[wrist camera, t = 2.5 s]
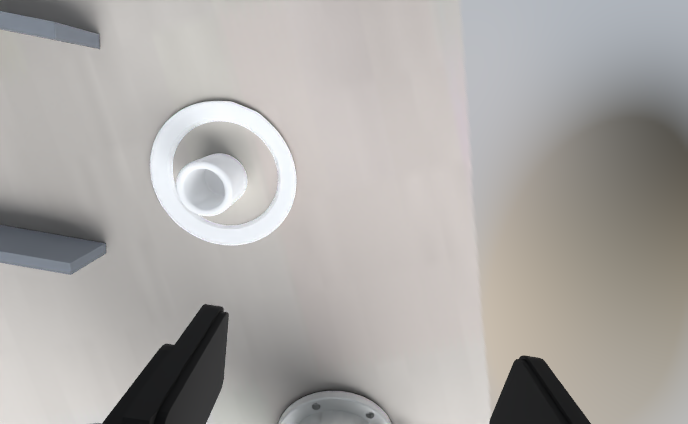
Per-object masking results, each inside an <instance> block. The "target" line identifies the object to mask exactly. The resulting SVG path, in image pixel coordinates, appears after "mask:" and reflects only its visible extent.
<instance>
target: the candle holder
mask: <svg viewBox="0 0 688 424" xmlns="http://www.w3.org/2000/svg"><path fill="white" fill-rule="evenodd" d="M213 121H226V122H232V123H235V124H238V125H241V126H243V127H245V128H247V129H249V130H251V131H252V132H253V133H255V134H256V135H257V136H258V137H259V138H261V139H262V141H263V142H264V143H265V144H266V145H267V147H268V148H269V150H270V151H271V153H272V155H273V157H274V160H275V163H276V166H277V172H278V186H277V191H276V194H275V197H274V199H273V201H272V203H271V205H270V206H269V208H268V209H267V210H266V211H265V212H264V213H263V214H262V215H261V216H259V217H258V218H256V219H254V220H252V221H250V222H248V223H244V224H240V225H222V224H217V223H214V222H211V221H209V220H206V219H205V218H203V217H201V216H199V215H202V216H214V215H217V214H220V213H222V212H223V211H225V210H226V209H227V208H228V207H230V206H231V205H232V204H233V203H234V202H235V201H237V200H238V199H239V198H240V197H241V196H242V195H243V194H244V192H245V190H246V187H247V174H246V171H245V168H244V167H243V166H242V164H241V163H240V162H239V161H238V160H237V159H235V158H234V157H232V156H230V155H227V154H223V153H217V154H212V155H209V156H206V157H203V158H201V159H198V160H195V161H193V162H190V163H188V164H187V165H185V166H184V167H183V168H182V169H181V171H180V172H179V174H178V176H177V179H176V185H175V182H174V177H173V158H174V154H175V151H176V148H177V146H178V144H179V143H180V141H181V140H182V138H183V137H184V136H185V135H186V134H187V133H188V132H189V131H191V130H192V129H193V128H195V127H197V126H199V125H201V124H204V123H208V122H213ZM150 174H151V180H152V184H153V188H154V191H155V193H156V196H157V198H158V200H159V202H160V203H161V205H162V207H163V208H164V210H165V211H166V212H167V214H168V215H169V216H170V217H171V218H172V219H173V220H174V221H175V222H176V223H177V224H178V225H179V226H180V227H181V228H183V229H184V230H185V231H187V232H188V233H190V234H192V235H193V236H195V237H197V238H200V239H202V240H204V241H207V242H211V243H215V244H220V245H243V244H248V243H251V242H254V241H257V240H259V239H262V238H263V237H265V236H267V235H268V234H270V233H271V232H273V231H274V230H275V229H276V228H277V227H278V226H279V225H280V224H281V223H282V222H283V220H284V219H285V218H286V216H287V214H288V213H289V211H290V209H291V206H292V204H293V201H294V197H295V192H296V170H295V165H294V161H293V158H292V155H291V153H290V150H289V148H288V146H287V144H286V143H285V141H284V139H283V138H282V136H281V135H280V134H279V132H278V131H277V130H276V129H275V128H274V127H273V126H272V125H271V124H270V123H269V122H268V121H267V120H266V119H265V118H264V117H263V116H262V115H261V114H259V113H258V112H256V111H254V110H251V109H249V108H247V107H244V106H242V105H239V104H237V103H235V102H232V101H207V102H201V103H197V104H193V105H191V106H188V107H186V108H184V109H182V110H180V111H179V112H177V113H176V114H174V115H173V116H172V117H171V118H170V119H169V120H168V121H167V122H166V123H165V124H164V125H163V126H162V128H161V129H160V131H159V133H158V134H157V136H156V138H155V141H154V144H153V147H152V151H151V157H150Z"/></svg>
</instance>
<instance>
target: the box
mask: <svg viewBox="0 0 688 424" xmlns="http://www.w3.org/2000/svg"><path fill="white" fill-rule="evenodd" d="M0 29H2V30H7V31H12V32H17V33H22V34H27V35H32V36H37V37H42V38H47V39H52V40H57V41H62V42H67V43H72V44H78V45H83V46H88V47H93V48H98V49H100V39H99V34H97V33H93V32H89V31H86V30H82V29H78V28H75V27H71V26H68V25H64V24H60V23H57V22H53V21H48V20H43V19H38V18H33V17H28V16H23V15H18V14H13V13H8V12H3V11H0ZM104 254H106V243H101V242H96V241H90V240H84V239H79V238H73V237H67V236H62V235H56V234H50V233H45V232H39V231H33V230H28V229H22V228H16V227H11V226H5V225H0V263H6V264H12V265H18V266H23V267H29V268H35V269H41V270H47V271H52V272H58V273H64V274H70V275H71V274H73V273H74V272H76V271H78V270H79V269H81V268H83V267H84V266H86V265H88V264H89V263H91V262H93V261H94V260H96V259H97V258H99V257H101V256H102V255H104Z"/></svg>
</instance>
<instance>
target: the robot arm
mask: <svg viewBox="0 0 688 424" xmlns="http://www.w3.org/2000/svg"><path fill="white" fill-rule="evenodd" d="M228 317H229V314H228V313H227V312H223V307H220V306H213V305H207V304H204V305H203V306H202V307H201V309H200V310H199V312H198V313H197V314H196V316H195V317H194V319H193V320H192V321H191V323H190V324H189V326H188V327H187V328H186V330H185V331H184V332H183V334H182V335H181V337H180V338H179V339H178V341H177V342H176V344H175V345H171V344H165V345H163V346H162V347H161V348H160V349H159V350H158V351H157V353H156V354H155V355H154V357H153V358H152V359H151V361H150V362H149V363H148V365H147V366H146V367H145V368H144V370H143V371H142V372H141V374H140V375H139V376H138V378H137V379H136V380H135V381H134V383H133V384H132V385H131V387H130V388H129V389H128V391H127V392H126V393H125V394H124V396H123V397H122V398H121V400H120V401H119V402H118V404H117V405H116V406H115V407H114V409H113V410H112V411H111V413H110V414H109V415H108V417H107V418H106V419H105V420H104V422H103V423H102V424H206V422H207V420H208V418H209V415H210V413H211V411H212V409H213V406H214V404H215V402H216V400H217V398H218V395H219V393H220V391H221V388H222V384H223V379H224V368H225V355H226V342H227V330H228ZM95 424H101V423H95ZM278 424H392V423H391V421H390V419H389V417H388V416H387V414H386V413H385V412H384V411H383V410H382V409H381V408H380V407H379V406H378V405H376V404H375V403H374V402H372V401H371V400H369V399H367V398H365V397H363V396H360V395H357V394H354V393H350V392H344V391H324V392H317V393H314V394H310V395H307V396H305V397H303V398H301V399H299V400H297V401H295V402H294V403H293V404H292V405H290V406H289V407H288V408H287V409H286V410H285V412H284V413H283V414H282V416H281V418H280V420H279V422H278ZM490 424H591V423H590V422H589V420H588V419H587V418H586V416H585V415H584V414H583V412H582V411H581V410H580V408H579V407H578V406H577V405H576V403H575V402H574V400H573V399H572V398H571V396H570V395H569V394H568V392H567V391H566V389H565V388H564V387H563V385H562V384H561V383H560V381H559V380H558V379H557V378H556V376H555V375H554V373H553V372H552V370H551V369H550V368H549V366H548V365H547V364H546V362H545V361H544V360H543V359H541V358H536V357H530V356H521V357H520V358H519V359H516V360H515V361H514V363H513V366H512V368H511V370H510V373H509V375H508V378H507V380H506V382H505V385H504V387H503V390H502V392H501V395H500V397H499V399H498V402H497V404H496V407H495V409H494V411H493V414H492V416H491V419H490Z"/></svg>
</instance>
